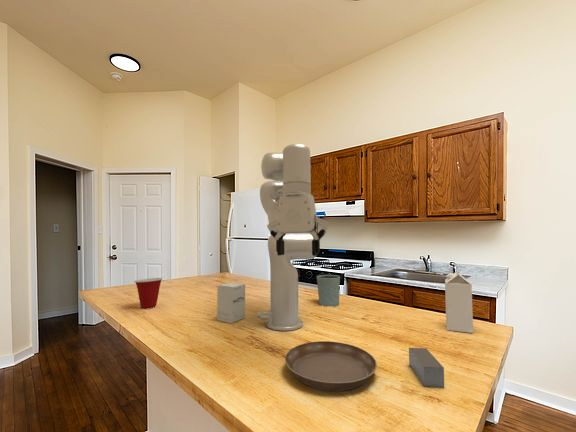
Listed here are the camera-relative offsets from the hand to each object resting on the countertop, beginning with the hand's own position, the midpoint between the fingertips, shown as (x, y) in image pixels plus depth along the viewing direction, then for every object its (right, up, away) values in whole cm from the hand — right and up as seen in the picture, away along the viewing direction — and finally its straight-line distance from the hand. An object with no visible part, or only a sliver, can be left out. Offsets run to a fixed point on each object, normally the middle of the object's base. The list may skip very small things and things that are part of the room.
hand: (297, 255), depth 79 cm
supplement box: (-23, -27, +29) cm, 46 cm away
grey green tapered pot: (+15, -28, +51) cm, 60 cm away
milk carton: (+53, -27, +18) cm, 62 cm away
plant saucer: (+7, -26, -11) cm, 29 cm away
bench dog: (+28, -25, -13) cm, 40 cm away
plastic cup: (-62, -28, +47) cm, 83 cm away
